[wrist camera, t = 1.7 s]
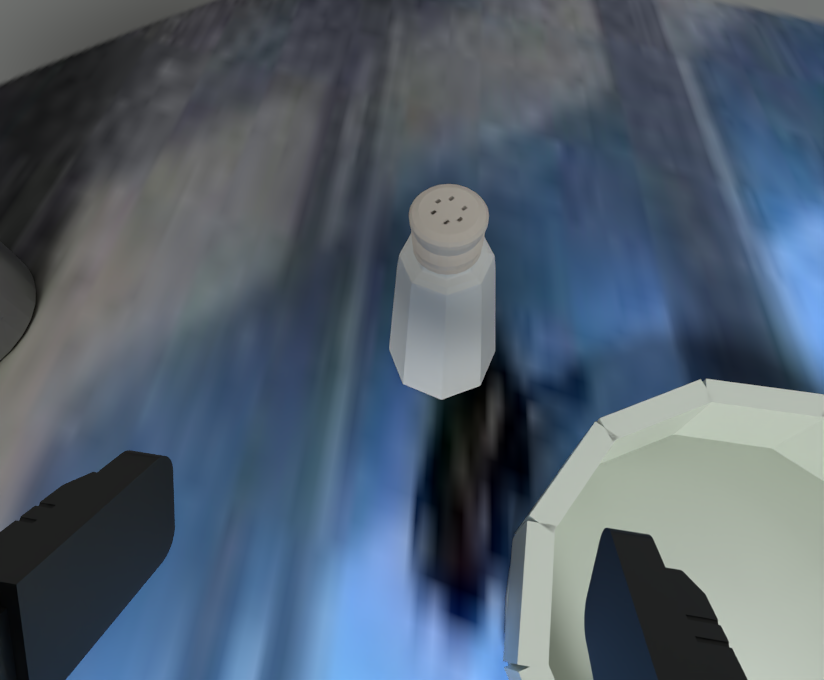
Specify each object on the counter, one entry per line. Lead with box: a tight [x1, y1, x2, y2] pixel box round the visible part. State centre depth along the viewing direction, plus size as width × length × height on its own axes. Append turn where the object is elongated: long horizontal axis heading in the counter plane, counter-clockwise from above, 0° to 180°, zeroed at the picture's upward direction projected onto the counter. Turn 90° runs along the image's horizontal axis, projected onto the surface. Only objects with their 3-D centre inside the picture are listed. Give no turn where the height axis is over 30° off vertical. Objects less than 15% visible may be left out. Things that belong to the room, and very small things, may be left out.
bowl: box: [503, 379, 824, 680], centre depth 21 cm, size 18×18×5 cm
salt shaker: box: [389, 184, 495, 400], centre depth 25 cm, size 5×5×11 cm
